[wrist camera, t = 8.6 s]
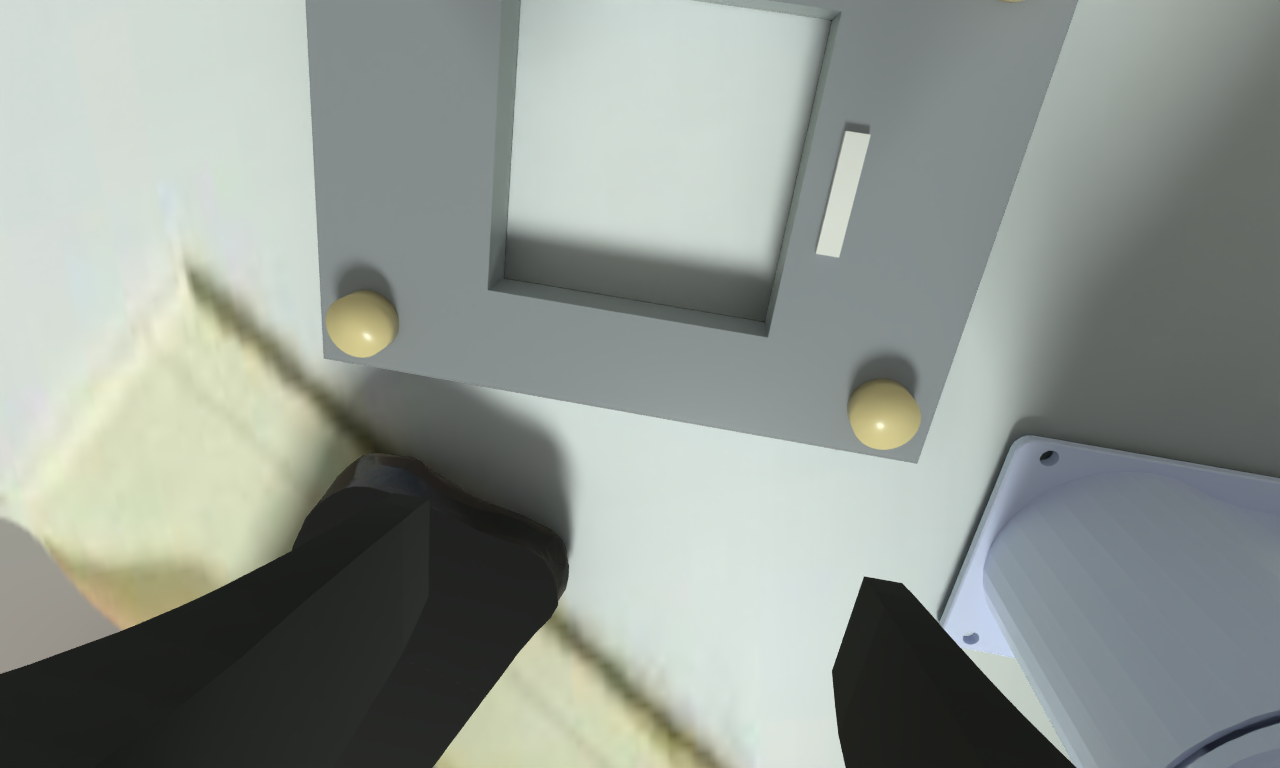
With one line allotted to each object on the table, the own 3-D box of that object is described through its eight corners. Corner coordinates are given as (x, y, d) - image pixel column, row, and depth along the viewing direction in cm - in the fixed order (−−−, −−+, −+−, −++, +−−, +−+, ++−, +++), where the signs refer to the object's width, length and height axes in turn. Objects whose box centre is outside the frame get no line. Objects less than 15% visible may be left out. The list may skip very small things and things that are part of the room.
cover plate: (1083, -97, 15) (1141, -132, 13) (903, 440, 20) (924, 477, 18) (330, -195, 16) (271, -243, 14) (349, 342, 21) (308, 367, 19)
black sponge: (389, 405, 23) (330, 456, 19) (598, 530, 23) (577, 600, 20) (245, 684, 29) (182, 759, 25) (415, 774, 30) (375, 859, 26)
